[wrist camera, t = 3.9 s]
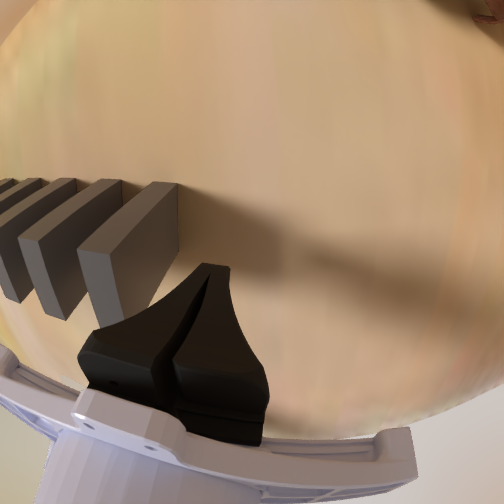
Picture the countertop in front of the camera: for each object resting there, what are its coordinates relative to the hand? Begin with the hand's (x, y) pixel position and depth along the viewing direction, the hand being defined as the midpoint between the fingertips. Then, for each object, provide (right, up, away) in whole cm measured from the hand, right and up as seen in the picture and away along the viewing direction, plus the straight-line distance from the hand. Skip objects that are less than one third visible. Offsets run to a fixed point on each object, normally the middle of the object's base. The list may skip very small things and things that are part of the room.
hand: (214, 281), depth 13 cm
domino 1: (-4, +4, +5) cm, 7 cm away
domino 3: (-12, +5, +5) cm, 14 cm away
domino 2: (-8, +4, +5) cm, 11 cm away
